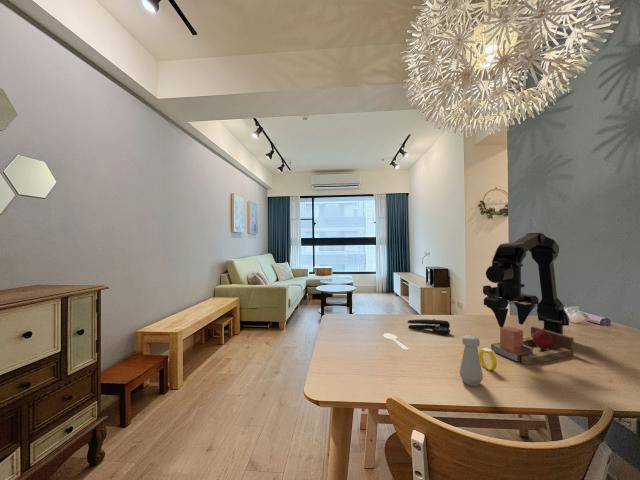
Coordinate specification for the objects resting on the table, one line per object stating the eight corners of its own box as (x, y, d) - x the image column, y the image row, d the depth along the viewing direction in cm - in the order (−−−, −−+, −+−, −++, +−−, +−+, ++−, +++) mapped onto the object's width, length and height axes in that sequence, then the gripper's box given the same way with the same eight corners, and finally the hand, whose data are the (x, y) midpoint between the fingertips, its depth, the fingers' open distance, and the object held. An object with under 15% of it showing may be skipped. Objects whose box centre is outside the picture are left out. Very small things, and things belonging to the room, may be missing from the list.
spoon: (400, 351, 99) (400, 350, 99) (380, 334, 117) (380, 333, 117) (413, 350, 100) (413, 348, 100) (391, 333, 118) (391, 332, 118)
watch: (477, 365, 88) (476, 346, 88) (484, 364, 88) (483, 345, 89) (491, 373, 82) (490, 352, 82) (499, 372, 82) (498, 352, 83)
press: (508, 348, 99) (508, 324, 99) (532, 358, 91) (532, 331, 91) (493, 351, 97) (493, 326, 97) (517, 361, 89) (517, 334, 89)
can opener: (451, 331, 119) (451, 319, 119) (449, 336, 113) (449, 323, 113) (409, 325, 128) (409, 313, 128) (406, 330, 122) (405, 317, 122)
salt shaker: (455, 377, 80) (454, 333, 80) (473, 376, 80) (473, 332, 80) (467, 388, 74) (467, 340, 74) (487, 387, 74) (487, 340, 74)
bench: (533, 341, 106) (533, 326, 106) (573, 355, 94) (573, 337, 94) (491, 349, 100) (490, 332, 100) (527, 364, 87) (527, 346, 87)
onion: (557, 353, 95) (557, 331, 95) (538, 352, 96) (538, 330, 96) (547, 347, 101) (546, 325, 101) (529, 346, 102) (529, 324, 102)
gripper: (508, 276, 104) (508, 316, 105) (470, 278, 99) (470, 321, 99) (539, 280, 94) (539, 325, 94) (498, 283, 88) (499, 331, 88)
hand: (511, 325), depth 94 cm, fingers open, 9 cm apart
